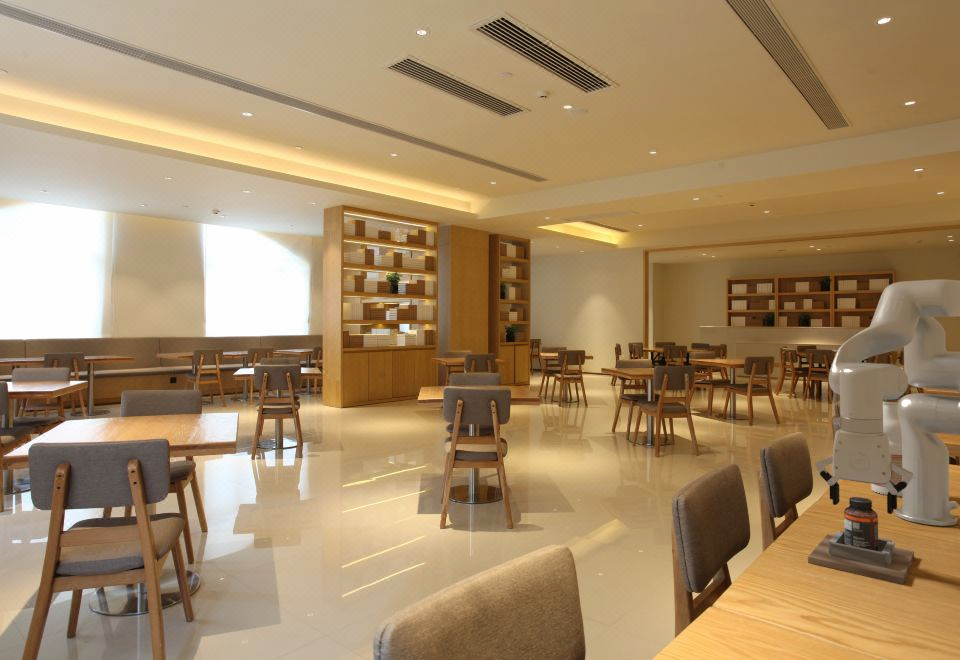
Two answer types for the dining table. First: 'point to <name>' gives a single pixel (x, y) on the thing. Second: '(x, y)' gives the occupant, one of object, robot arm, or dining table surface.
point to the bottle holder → (863, 558)
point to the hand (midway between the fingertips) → (862, 507)
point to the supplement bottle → (861, 524)
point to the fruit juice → (891, 441)
